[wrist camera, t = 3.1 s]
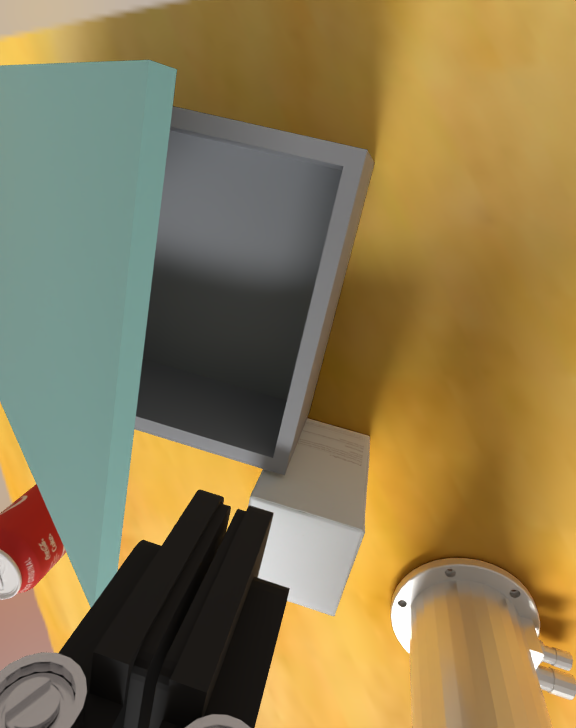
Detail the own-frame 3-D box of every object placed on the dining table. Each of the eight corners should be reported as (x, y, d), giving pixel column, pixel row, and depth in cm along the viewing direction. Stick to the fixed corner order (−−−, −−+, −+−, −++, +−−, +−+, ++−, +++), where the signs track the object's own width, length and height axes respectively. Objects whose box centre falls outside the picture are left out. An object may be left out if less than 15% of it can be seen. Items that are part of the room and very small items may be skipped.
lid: (177, 69, 13) (149, 59, 13) (113, 606, 21) (93, 613, 20) (14, 70, 27) (-2, 65, 27) (9, 392, 34) (-4, 393, 34)
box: (374, 162, 34) (367, 149, 25) (309, 413, 41) (284, 475, 32) (112, 103, 37) (17, 71, 27) (93, 350, 44) (12, 391, 34)
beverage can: (51, 454, 48) (-51, 531, 37) (110, 466, 47) (23, 549, 36) (55, 508, 51) (-40, 596, 39) (112, 520, 50) (30, 614, 38)
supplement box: (271, 482, 44) (227, 584, 33) (289, 410, 42) (248, 493, 30) (350, 507, 44) (334, 621, 32) (374, 435, 41) (366, 531, 29)
